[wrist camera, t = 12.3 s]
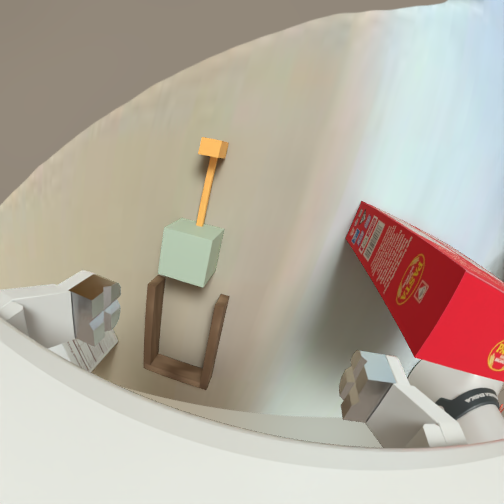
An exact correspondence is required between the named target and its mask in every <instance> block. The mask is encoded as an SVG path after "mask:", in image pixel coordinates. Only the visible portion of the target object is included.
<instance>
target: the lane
mask: <svg viewBox="0 0 504 504" xmlns="http://www.w3.org/2000/svg"><path fill="white" fill-rule="evenodd" d="M164 285H165V277H163V276H160V275H158V276H157V277H155V278H154V279H153V280H152V281H151V282H150V283H149V284H148V288H147V301H146V316H145V337H144V368H145V369H148V370H150V371H153V372H155V373H158V374H161V375H163V376H166V377H169V378H172V379H175V380H177V381H180V382H183V383H186V384H189V385H192V386H195V387H199V388H202V389H205V390H206V389H207V387H208V384H209V382H210V379H211V377H212V372H213V368H214V363H215V359H216V354H217V349H218V345H219V340H220V336H221V331H222V327H223V322H224V318H225V313H226V309H227V304H228V300H229V296H226V295H223V294H221V295H220V297H219V299H218V301H217V302H216V304H215V308H214V313H213V318H212V323H211V328H210V333H209V338H208V343H207V348H206V354H205V359H204V364H203V369H202V368H199V367H196V366H193V365H190V364H187V363H184V362H181V361H178V360H175V359H172V358H169V357H167V356H164V355H161V354H158V352H159V338H160V325H161V314H162V304H163V294H164Z"/></svg>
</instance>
